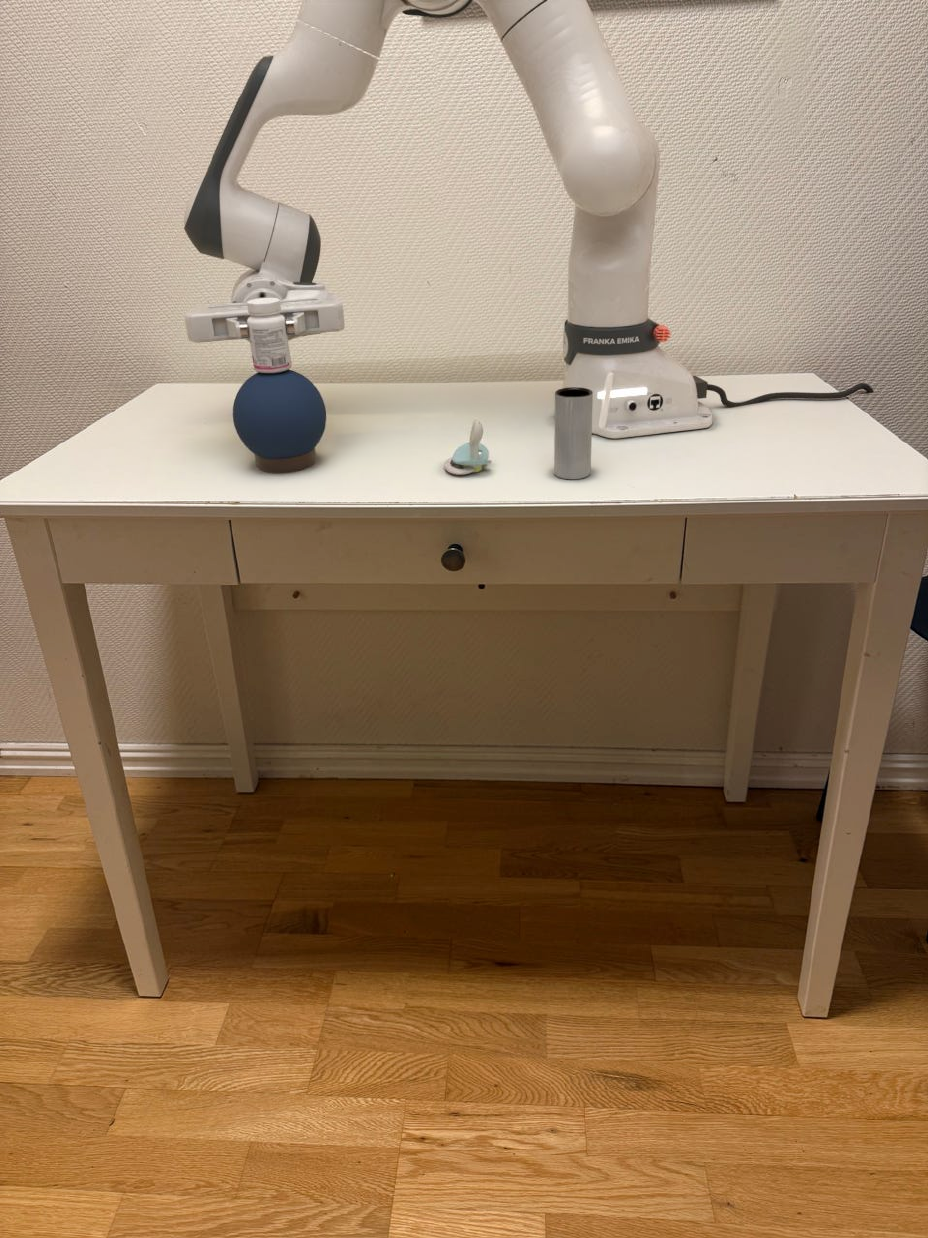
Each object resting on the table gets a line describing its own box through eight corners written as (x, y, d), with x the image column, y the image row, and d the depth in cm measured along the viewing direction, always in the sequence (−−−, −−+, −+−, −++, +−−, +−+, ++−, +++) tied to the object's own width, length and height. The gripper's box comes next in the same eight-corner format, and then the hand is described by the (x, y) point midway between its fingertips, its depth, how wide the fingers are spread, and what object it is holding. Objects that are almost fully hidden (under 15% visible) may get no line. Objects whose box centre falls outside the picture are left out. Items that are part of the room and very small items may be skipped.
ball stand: (319, 452, 126) (317, 438, 125) (313, 471, 119) (311, 456, 118) (261, 455, 126) (258, 441, 125) (252, 474, 119) (249, 460, 118)
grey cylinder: (588, 480, 112) (591, 397, 107) (552, 479, 113) (552, 396, 108) (591, 468, 116) (594, 387, 111) (556, 466, 117) (557, 386, 112)
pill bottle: (260, 364, 119) (250, 297, 114) (296, 364, 118) (287, 296, 114) (249, 374, 114) (238, 304, 110) (286, 373, 114) (276, 303, 110)
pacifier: (445, 480, 114) (493, 476, 114) (441, 432, 111) (490, 427, 111) (443, 461, 121) (488, 457, 121) (439, 415, 118) (485, 411, 118)
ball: (334, 443, 127) (324, 356, 122) (327, 472, 117) (316, 378, 111) (248, 447, 127) (234, 360, 121) (233, 477, 116) (217, 383, 111)
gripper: (182, 292, 122) (176, 310, 110) (335, 281, 125) (346, 297, 113) (190, 341, 125) (186, 363, 113) (339, 329, 128) (350, 349, 116)
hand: (267, 330), depth 113 cm, fingers closed on pill bottle, 5 cm apart
